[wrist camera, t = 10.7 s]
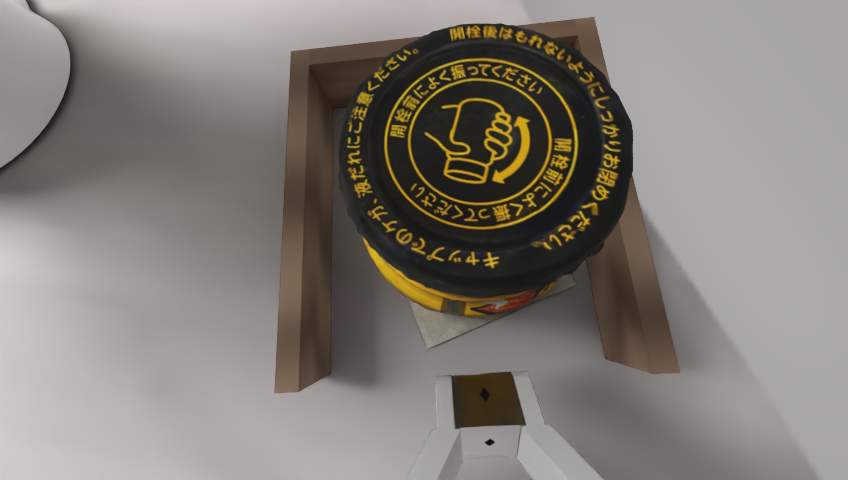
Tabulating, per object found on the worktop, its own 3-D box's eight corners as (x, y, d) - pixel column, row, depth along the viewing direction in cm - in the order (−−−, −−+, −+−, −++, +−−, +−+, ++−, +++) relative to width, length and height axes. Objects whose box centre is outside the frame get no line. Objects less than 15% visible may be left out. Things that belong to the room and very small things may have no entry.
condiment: (379, 225, 17) (243, 54, 6) (512, 170, 18) (646, -106, 6) (427, 348, 16) (375, 466, 4) (574, 285, 16) (937, 218, 4)
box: (626, 357, 15) (680, 372, 11) (311, 374, 16) (274, 393, 12) (566, 70, 19) (593, 17, 15) (317, 96, 20) (291, 51, 16)
